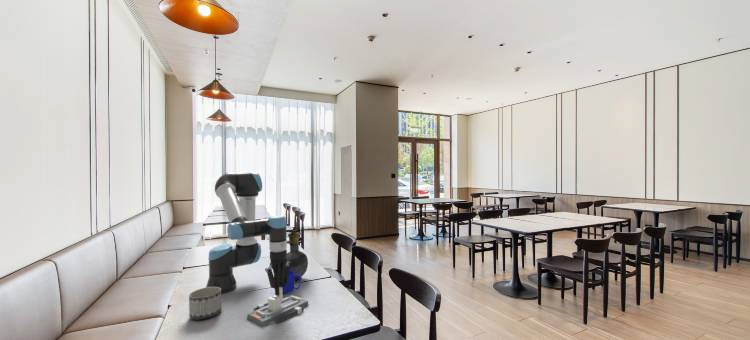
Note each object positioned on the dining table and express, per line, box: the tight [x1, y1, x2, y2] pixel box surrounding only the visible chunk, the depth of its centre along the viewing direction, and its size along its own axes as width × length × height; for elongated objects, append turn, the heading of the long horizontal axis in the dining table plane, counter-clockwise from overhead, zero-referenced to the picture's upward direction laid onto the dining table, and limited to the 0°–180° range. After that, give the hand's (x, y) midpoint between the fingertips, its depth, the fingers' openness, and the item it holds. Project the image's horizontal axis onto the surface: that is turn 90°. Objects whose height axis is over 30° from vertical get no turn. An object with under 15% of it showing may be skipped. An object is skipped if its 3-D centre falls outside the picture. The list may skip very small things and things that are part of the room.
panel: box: [246, 294, 309, 327], centre depth 138 cm, size 12×24×3 cm, turn 143°
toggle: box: [267, 295, 281, 311], centre depth 136 cm, size 4×4×5 cm
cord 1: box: [253, 302, 268, 311], centre depth 143 cm, size 3×14×2 cm, turn 143°
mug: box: [283, 271, 302, 295], centre depth 160 cm, size 8×12×10 cm
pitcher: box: [286, 229, 309, 283], centre depth 176 cm, size 11×19×30 cm, turn 157°
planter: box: [188, 286, 223, 321], centre depth 136 cm, size 13×13×10 cm
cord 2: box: [275, 306, 304, 324], centre depth 132 cm, size 3×14×2 cm, turn 143°
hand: (279, 301), depth 138 cm, fingers closed
